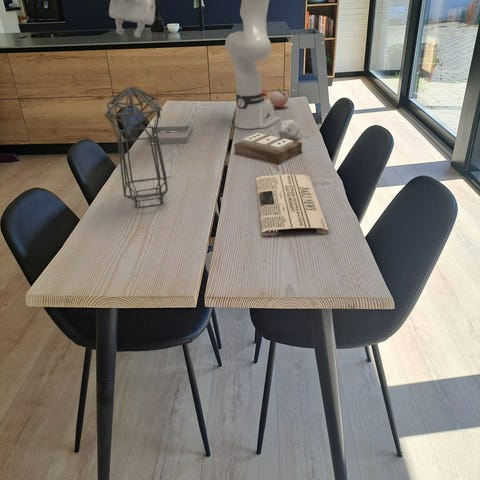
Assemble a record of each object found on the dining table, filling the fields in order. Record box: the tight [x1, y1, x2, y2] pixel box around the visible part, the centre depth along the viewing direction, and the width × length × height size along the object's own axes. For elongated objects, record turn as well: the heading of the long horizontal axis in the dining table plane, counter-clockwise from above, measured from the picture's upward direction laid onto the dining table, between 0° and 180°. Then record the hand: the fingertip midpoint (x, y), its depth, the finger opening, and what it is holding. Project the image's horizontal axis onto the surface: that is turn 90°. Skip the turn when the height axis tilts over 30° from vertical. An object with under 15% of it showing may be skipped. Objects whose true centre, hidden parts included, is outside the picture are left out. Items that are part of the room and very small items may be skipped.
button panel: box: [233, 134, 303, 166], centre depth 175 cm, size 15×21×4 cm
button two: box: [270, 139, 294, 151], centre depth 170 cm, size 9×4×3 cm, turn 140°
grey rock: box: [276, 118, 301, 141], centre depth 187 cm, size 8×9×10 cm
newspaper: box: [255, 173, 330, 237], centre depth 136 cm, size 37×19×3 cm, turn 1°
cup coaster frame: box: [146, 125, 194, 144], centre depth 198 cm, size 17×17×2 cm
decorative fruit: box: [269, 88, 289, 109], centre depth 230 cm, size 9×8×10 cm
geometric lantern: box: [104, 85, 169, 209], centre depth 135 cm, size 16×16×35 cm
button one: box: [256, 135, 280, 148], centre depth 174 cm, size 9×4×3 cm, turn 140°
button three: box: [242, 132, 267, 145], centre depth 178 cm, size 9×4×3 cm, turn 140°
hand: (128, 35), depth 158 cm, fingers open, 8 cm apart
